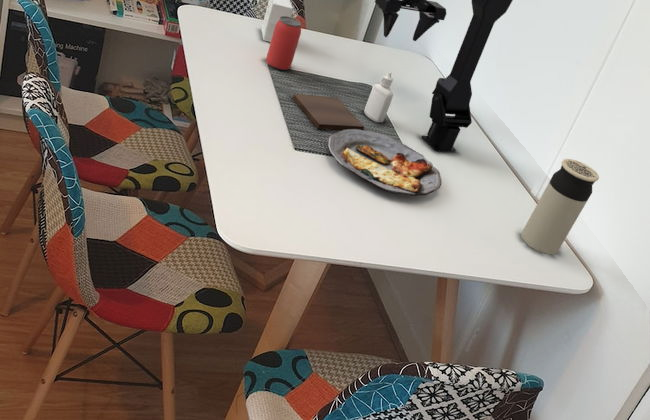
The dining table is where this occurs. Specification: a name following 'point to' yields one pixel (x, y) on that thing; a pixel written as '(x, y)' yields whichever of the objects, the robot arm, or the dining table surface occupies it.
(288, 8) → the small box
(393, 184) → the food plate
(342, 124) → the walnut board
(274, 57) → the beer can
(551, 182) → the travel mug
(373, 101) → the eye dropper bottle
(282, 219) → the dining table surface
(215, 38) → the dining table surface
